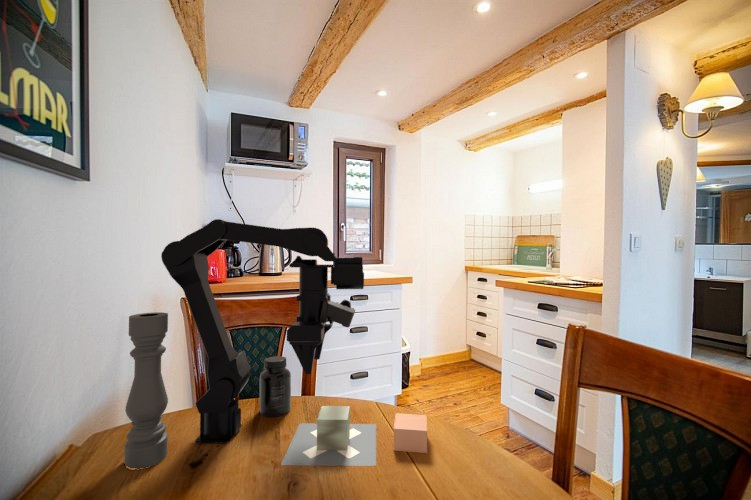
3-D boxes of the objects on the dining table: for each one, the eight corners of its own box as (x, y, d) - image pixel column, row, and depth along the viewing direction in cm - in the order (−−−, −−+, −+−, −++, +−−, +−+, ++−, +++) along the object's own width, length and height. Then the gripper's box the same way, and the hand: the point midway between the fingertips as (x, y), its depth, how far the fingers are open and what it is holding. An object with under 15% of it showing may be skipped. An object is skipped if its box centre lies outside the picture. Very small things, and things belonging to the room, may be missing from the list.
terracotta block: (393, 453, 61) (393, 428, 61) (395, 436, 67) (395, 413, 67) (427, 456, 60) (427, 430, 60) (426, 438, 66) (426, 415, 66)
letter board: (280, 467, 56) (280, 464, 56) (299, 425, 70) (299, 423, 70) (376, 468, 56) (376, 465, 56) (376, 425, 70) (376, 423, 70)
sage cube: (316, 450, 61) (317, 419, 61) (321, 434, 66) (321, 406, 66) (347, 450, 61) (347, 419, 61) (349, 434, 66) (349, 406, 66)
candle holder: (175, 450, 61) (177, 312, 61) (146, 472, 55) (149, 319, 55) (146, 447, 62) (148, 311, 63) (114, 468, 56) (117, 317, 56)
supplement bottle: (294, 406, 79) (295, 355, 80) (284, 420, 73) (284, 364, 73) (266, 404, 80) (267, 354, 80) (253, 418, 73) (254, 363, 74)
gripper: (349, 295, 59) (348, 383, 59) (355, 285, 78) (355, 353, 78) (286, 294, 60) (285, 383, 59) (307, 285, 78) (307, 353, 78)
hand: (312, 366), depth 69 cm, fingers open, 9 cm apart
